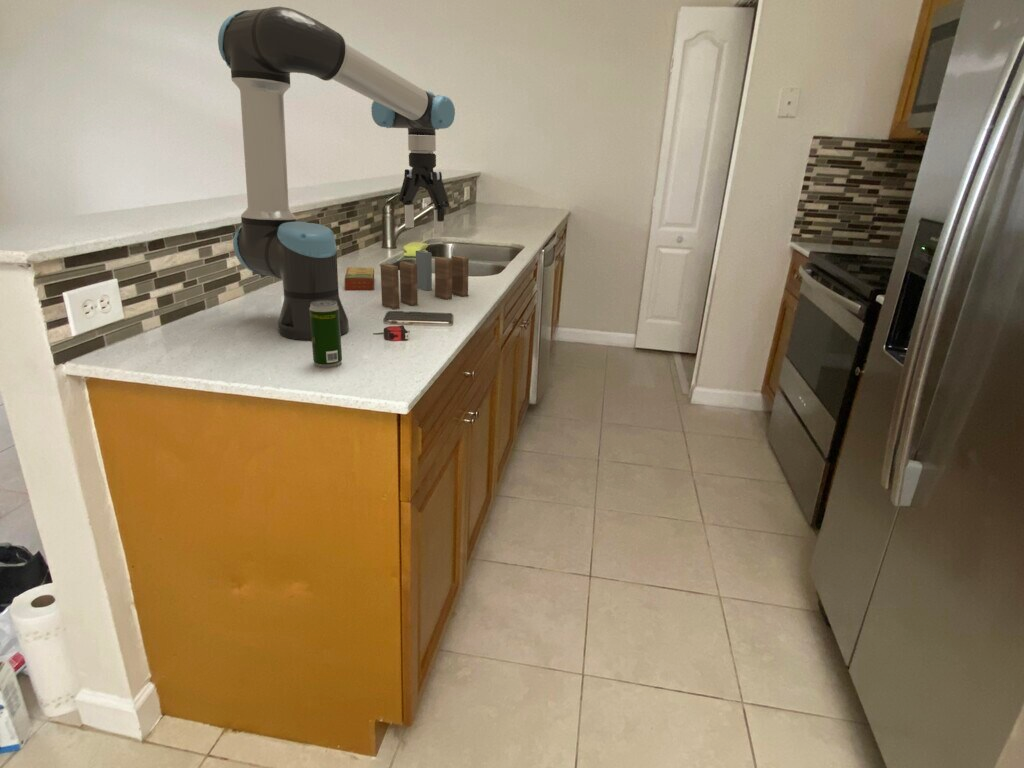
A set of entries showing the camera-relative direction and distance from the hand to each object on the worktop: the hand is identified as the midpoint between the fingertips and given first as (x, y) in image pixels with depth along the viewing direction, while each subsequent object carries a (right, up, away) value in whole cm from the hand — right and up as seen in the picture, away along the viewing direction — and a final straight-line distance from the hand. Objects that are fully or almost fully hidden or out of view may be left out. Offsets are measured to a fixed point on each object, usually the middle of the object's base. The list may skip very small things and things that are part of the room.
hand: (423, 230), depth 181 cm
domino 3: (-1, -16, +6) cm, 17 cm away
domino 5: (+10, -19, 0) cm, 21 cm away
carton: (-20, -15, +8) cm, 27 cm away
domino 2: (-2, -23, -12) cm, 26 cm away
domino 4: (+6, -20, -4) cm, 21 cm away
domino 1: (-6, -24, -16) cm, 30 cm away
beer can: (-10, -41, -59) cm, 73 cm away
